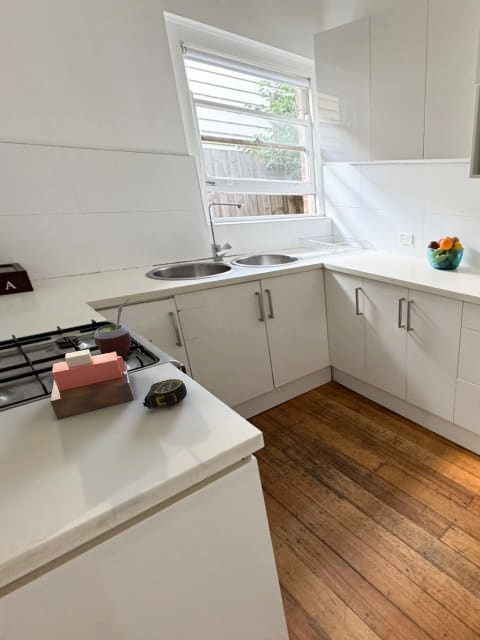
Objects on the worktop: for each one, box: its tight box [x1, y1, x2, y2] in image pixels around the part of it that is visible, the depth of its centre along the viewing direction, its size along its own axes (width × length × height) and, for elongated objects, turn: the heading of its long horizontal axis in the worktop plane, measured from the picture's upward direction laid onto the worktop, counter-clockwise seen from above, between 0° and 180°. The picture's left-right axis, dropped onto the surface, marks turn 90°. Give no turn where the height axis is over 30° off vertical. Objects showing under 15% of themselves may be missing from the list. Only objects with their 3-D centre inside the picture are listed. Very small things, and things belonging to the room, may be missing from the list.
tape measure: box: [141, 378, 188, 410], centre depth 78 cm, size 7×7×4 cm
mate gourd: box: [93, 297, 133, 361], centre depth 93 cm, size 8×8×15 cm
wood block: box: [49, 360, 135, 420], centre depth 79 cm, size 12×12×4 cm
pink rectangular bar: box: [51, 348, 126, 391], centre depth 77 cm, size 11×5×6 cm, turn 128°
